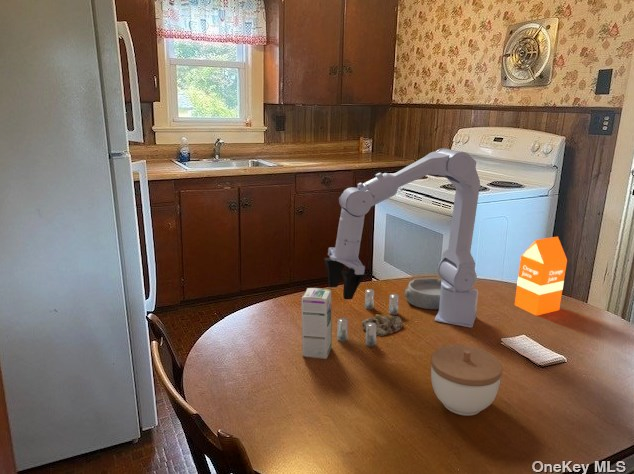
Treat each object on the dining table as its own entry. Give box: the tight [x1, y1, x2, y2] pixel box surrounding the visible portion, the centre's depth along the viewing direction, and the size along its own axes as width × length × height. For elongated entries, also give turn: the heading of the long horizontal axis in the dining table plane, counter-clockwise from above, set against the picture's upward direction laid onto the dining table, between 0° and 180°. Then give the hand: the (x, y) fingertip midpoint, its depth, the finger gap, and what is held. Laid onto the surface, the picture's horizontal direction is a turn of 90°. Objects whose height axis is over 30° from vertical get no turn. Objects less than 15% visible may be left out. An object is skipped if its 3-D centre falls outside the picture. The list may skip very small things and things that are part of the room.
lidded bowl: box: [430, 344, 503, 417], centre depth 90 cm, size 13×13×11 cm
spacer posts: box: [336, 288, 400, 348], centre depth 123 cm, size 9×22×5 cm, turn 155°
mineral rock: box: [361, 313, 404, 337], centre depth 122 cm, size 11×4×8 cm
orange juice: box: [514, 236, 568, 316], centre depth 131 cm, size 8×9×20 cm
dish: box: [404, 277, 441, 310], centre depth 138 cm, size 14×14×5 cm
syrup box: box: [300, 287, 333, 360], centre depth 108 cm, size 6×6×14 cm
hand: (340, 292), depth 118 cm, fingers open, 7 cm apart
